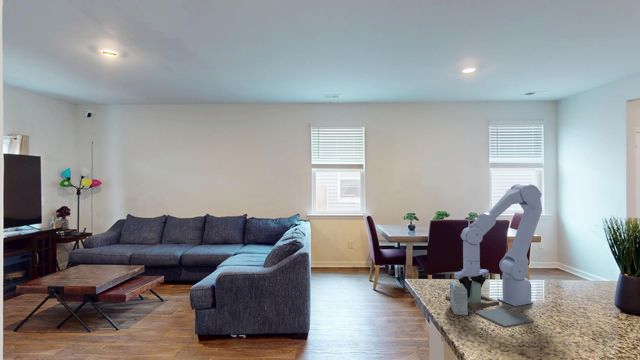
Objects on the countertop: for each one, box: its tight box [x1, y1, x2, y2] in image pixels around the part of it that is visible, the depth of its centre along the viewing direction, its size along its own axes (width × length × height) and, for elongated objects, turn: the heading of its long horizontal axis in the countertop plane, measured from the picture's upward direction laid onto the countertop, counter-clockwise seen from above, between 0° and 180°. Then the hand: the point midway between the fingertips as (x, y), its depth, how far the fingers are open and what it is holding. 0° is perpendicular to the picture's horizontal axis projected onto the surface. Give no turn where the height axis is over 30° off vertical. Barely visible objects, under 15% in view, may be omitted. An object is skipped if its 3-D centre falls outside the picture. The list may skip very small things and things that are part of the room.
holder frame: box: [445, 293, 500, 310], centre depth 129 cm, size 14×12×1 cm
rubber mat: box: [474, 307, 534, 328], centre depth 114 cm, size 12×12×1 cm
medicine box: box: [449, 282, 469, 316], centre depth 120 cm, size 8×4×9 cm, turn 168°
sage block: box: [467, 281, 482, 304], centre depth 129 cm, size 4×5×7 cm
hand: (471, 296), depth 129 cm, fingers closed on sage block, 4 cm apart
